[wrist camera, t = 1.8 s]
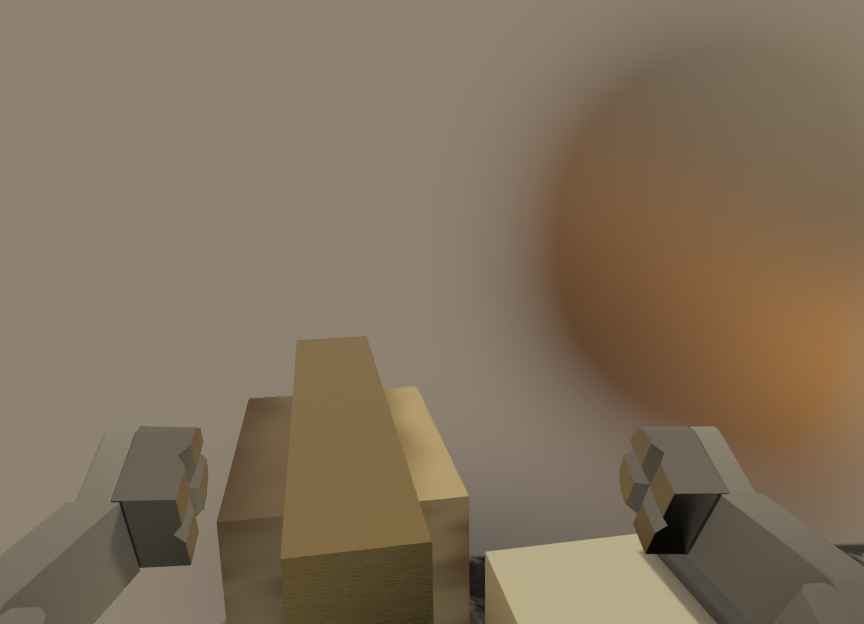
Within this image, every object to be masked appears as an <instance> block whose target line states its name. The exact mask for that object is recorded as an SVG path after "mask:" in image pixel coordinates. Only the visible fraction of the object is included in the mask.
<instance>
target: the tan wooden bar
mask: <svg viewBox="0 0 864 624" xmlns="http://www.w3.org/2000/svg"><path fill="white" fill-rule="evenodd" d="M280 562H281V575H282V588H283V601H284V615H285V624H434V612H433V557H432V539H431V536H430V533H429V530H428V527H427V524H426V521H425V518H424V515H423V511H422V508H421V505H420V502H419V499H418V496H417V493H416V490H415V487H414V483H413V480H412V477H411V474H410V471H409V468H408V465H407V462H406V459H405V455H404V452H403V449H402V446H401V443H400V440H399V437H398V434H397V431H396V427H395V424H394V421H393V418H392V415H391V412H390V409H389V406H388V403H387V399H386V396H385V393H384V390H383V388H382V384H381V381H380V378H379V375H378V371H377V368H376V365H375V362H374V359H373V356H372V353H371V350H370V346H369V343H368V340H367V337H366V336H362V337H347V338H346V337H345V338H331V339H330V338H329V339H314V340H313V339H312V340H298V341H297V348H296V361H295V375H294V388H293V400H292V413H291V426H290V439H289V452H288V465H287V478H286V491H285V504H284V517H283V530H282V544H281V557H280Z"/></svg>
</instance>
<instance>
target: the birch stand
mask: <svg viewBox="0 0 864 624" xmlns="http://www.w3.org/2000/svg"><path fill="white" fill-rule="evenodd" d="M383 390H384V393H385V396H386V399H387V403H388V406H389V409H390V412H391V415H392V418H393V421H394V424H395V427H396V431H397V434H398V437H399V440H400V443H401V446H402V449H403V452H404V455H405V459H406V462H407V465H408V468H409V471H410V474H411V477H412V480H413V483H414V487H415V490H416V493H417V496H418V499H419V502H420V505H421V508H422V511H423V515H424V518H425V521H426V524H427V527H428V530H429V533H430V536H431V539H432V557H433V612H434V624H469V496H468V494H467V492H466V489H465V487H464V485H463V483H462V481H461V479H460V477H459V475H458V472H457V470H456V468H455V466H454V464H453V462H452V460H451V458H450V456H449V454H448V452H447V450H446V447H445V445H444V443H443V441H442V439H441V437H440V435H439V432H438V430H437V428H436V426H435V424H434V422H433V420H432V418H431V416H430V414H429V411H428V409H427V407H426V405H425V403H424V401H423V399H422V397H421V395H420V393H419V391H418V388H417V386H412V387H398V388H386V389H383ZM292 400H293V395H291V396H278V397H264V398H251V399H249V401H248V405H247V409H246V413H245V416H244V420H243V424H242V428H241V432H240V436H239V440H238V443H237V447H236V451H235V455H234V459H233V462H232V466H231V470H230V474H229V478H228V482H227V485H226V489H225V493H224V497H223V501H222V504H221V508H220V512H219V516H218V520H217V529H218V540H219V550H220V559H221V571H222V581H223V590H224V601H225V611H226V621H227V624H285V615H284V601H283V588H282V575H281V562H280V557H281V544H282V530H283V517H284V504H285V491H286V478H287V465H288V452H289V439H290V426H291V413H292Z"/></svg>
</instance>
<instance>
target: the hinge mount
mask: <svg viewBox="0 0 864 624" xmlns="http://www.w3.org/2000/svg"><path fill="white" fill-rule="evenodd" d="M687 556H688V554H645V553H644V550H643V548H642V545H641V543H640V540H639V538H638V535H637V534H631V535H623V536H615V537H606V538H598V539H589V540H581V541H573V542H564V543H556V544H548V545H540V546H531V547H523V548H514V549H506V550H498V551H489V552H485V624H752V623H751V621H750V620H749V619H748V618H747V617H746V616H745V615H744V614H743V613H742V612H741V611H740V610H739V609H738V608H737V607H736V606H735V605H734V604H733V603H732V602H731V601H730V600H729V599H728V598H727V597H726V596H725V595H724V594H723V593H722V592H721V591H720V590H719V589H718V588H717V587H716V586H715V585H714V584H713V583H712V581H711V580H710V579H709V578H708V577H707V576H706V575H705V574H704V573H703V572H702V571H701V570H700V569H699V568H698V567H697V566H696V565H695V564H694V563H693V562H692V561H691V560H690V559H689V558H688V557H687Z"/></svg>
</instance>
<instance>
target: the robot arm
mask: <svg viewBox="0 0 864 624" xmlns="http://www.w3.org/2000/svg"><path fill="white" fill-rule="evenodd" d="M630 441H631V443H632V446H633V450H631V451H630V452H629V453H628V454H626V455H625V456H624V458H623V460H622V464H621V466H620V487H621V492H622V495H623V498H624V501H625V503H626V504H627V505H628V506H629V507H630V508H631V509H632V510H634V511H635V512H636V513H637V516H636V518H635V520H634V523H633V524H634V527H635V530H636V532H637V535H638V538H639V540H640V543H641V545H642V548H643V550H644V553H645V554H688V556H687V557H688V558H689V559H690V560H691V561H692V562H693V563H694V564H695V565H696V566H697V567H698V568H699V569H700V570H701V571H702V572H703V573H704V574H705V575H706V576H707V577H708V578H709V579H710V580H711V581H712V583H713V584H714V585H715V586H716V587H717V588H718V589H719V590H720V591H721V592H722V593H723V594H724V595H725V596H726V597H727V598H728V599H729V600H730V601H731V602H732V603H733V604H734V605H735V606H736V607H737V608H738V609H739V610H740V611H741V612H742V613H743V614H744V615H745V616H746V617H747V618H748V619H749V620H750V621H751V623H752V624H864V567H863V566H862V565H861V564H859V563H858V562H856V561H855V560H854V559H852V558H851V557H849V556H848V555H847V554H845V553H844V552H843V551H841V550H840V549H838V548H837V547H836V546H834V545H833V544H832V543H830V542H829V541H827V540H826V539H824V538H823V537H822V536H820V535H819V534H818V533H816V532H815V531H814V530H812V529H811V528H809V527H808V526H806V525H805V524H804V523H802V522H801V521H800V520H798V519H797V518H796V517H794V516H793V515H791V514H790V513H788V512H787V511H786V510H785V509H783V508H782V507H780V506H779V505H777V504H776V503H775V502H773V501H772V500H771V499H769V498H768V497H766V496H765V495H764V494H756V493H755V492H754V490H753V488H752V486H751V485H750V483H749V481H748V480H747V478H746V476H745V475H744V473H743V471H742V469H741V468H740V466H739V464H738V462H737V461H736V459H735V457H734V455H733V454H732V452H731V450H730V449H729V447H728V445H727V443H726V442H725V440H724V438H723V437H722V435H721V433H720V432H719V430H717V429H716V428H715V427H638V428H637V429H636V430H635V431H634V433H633V435H632V437H631V440H630ZM202 444H203V438H202V434H201V429H199V428H188V427H147V426H140V427H129V426H128V427H126V426H124V427H123V426H110V428H109V429H108V430H107V431H106V432H105V433H104V435H103V437H102V440H101V442H100V444H99V447H98V449H97V452H96V454H95V456H94V459H93V461H92V464H91V466H90V468H89V471H88V473H87V476H86V478H85V481H84V483H83V485H82V488H81V490H80V492H79V495H78V497H77V500H76V502H75V503H66V504H64V505H63V506H62V507H61V508H59V509H58V510H57V511H56V512H54V513H53V514H52V515H51V516H49V517H48V518H47V519H46V520H44V521H43V522H42V523H40V524H39V525H38V526H37V527H35V528H34V529H33V530H32V531H30V533H28V534H27V535H25V536H24V537H23V538H22V539H20V540H19V541H18V542H17V543H15V544H14V545H13V546H12V547H10V548H9V549H8V550H7V551H5V552H4V553H3V554H2V555H0V624H93V623H95V622H96V620H97V619H98V618H99V617H100V616H101V615H102V613H103V612H104V611H105V610H106V609H107V608H108V607H109V605H110V604H111V603H112V602H113V601H114V600H115V599H116V598H117V596H118V595H119V594H120V593H121V592H122V591H123V590H124V588H125V587H126V586H127V585H128V584H129V583H130V582H131V580H132V579H133V578H134V577H135V576H136V575H137V574H138V573H139V571H140V569H139V568H144V567H164V566H182V565H191V562H192V558H193V553H194V549H195V545H196V540H197V536H198V526H197V521H196V517H197V516H198V515H199V514H200V513H201V512H202V511H203V510H204V505H205V500H206V494H207V484H208V469H207V468H208V467H207V461H206V458H205V457H204V456H203V455H201V454H200V453H201V448H202Z"/></svg>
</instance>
